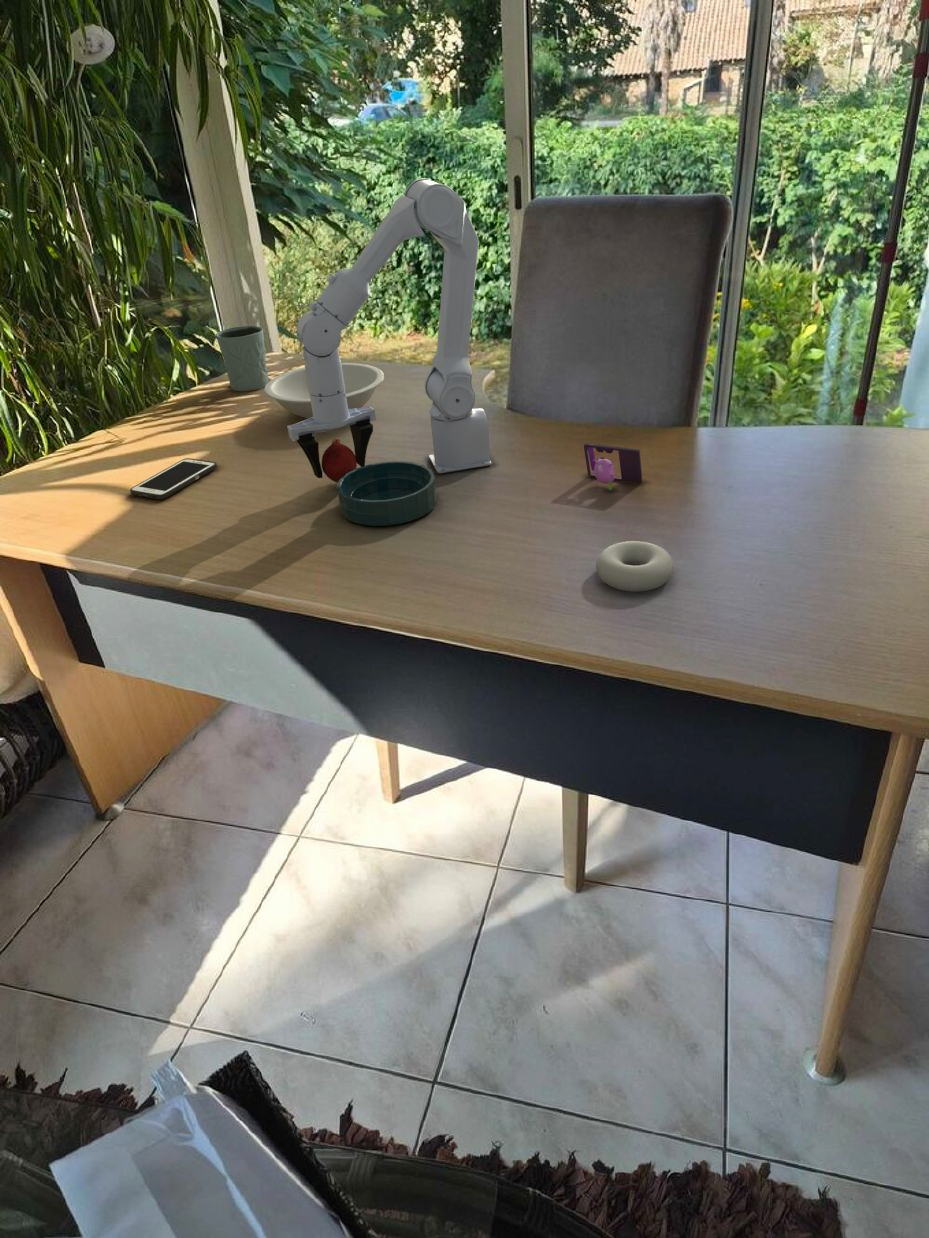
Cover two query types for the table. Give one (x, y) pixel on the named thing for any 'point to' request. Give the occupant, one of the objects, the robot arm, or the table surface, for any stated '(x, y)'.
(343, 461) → the onion
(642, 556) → the donut
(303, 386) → the soup bowl
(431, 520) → the table surface
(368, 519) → the teal bowl
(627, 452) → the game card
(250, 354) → the textured green cup
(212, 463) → the cell phone
